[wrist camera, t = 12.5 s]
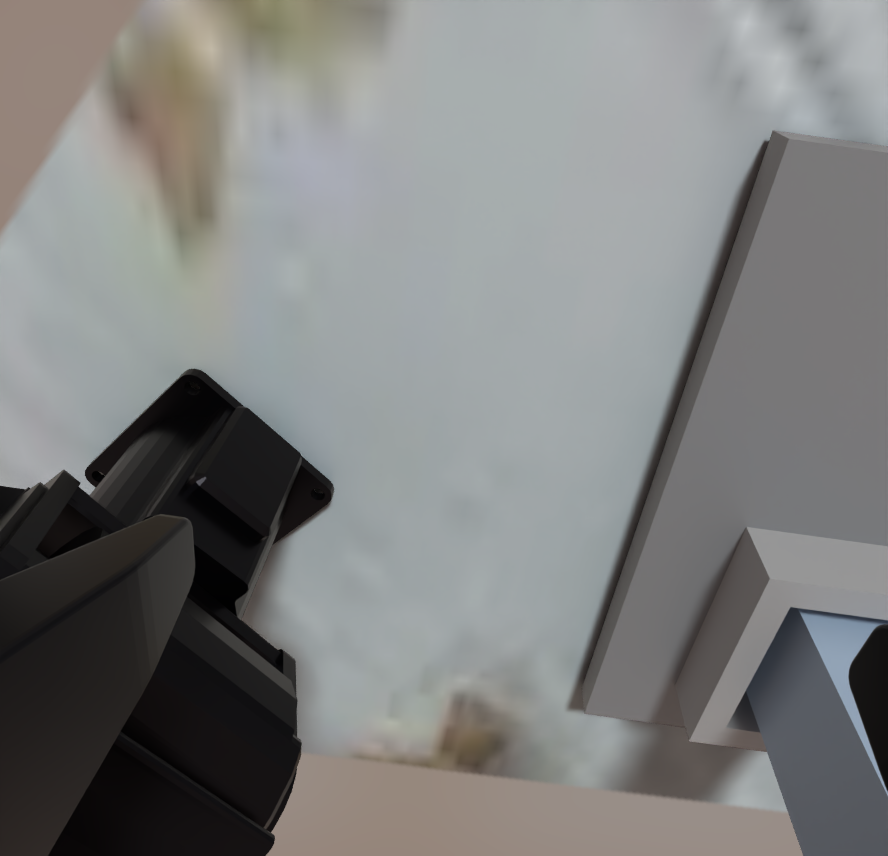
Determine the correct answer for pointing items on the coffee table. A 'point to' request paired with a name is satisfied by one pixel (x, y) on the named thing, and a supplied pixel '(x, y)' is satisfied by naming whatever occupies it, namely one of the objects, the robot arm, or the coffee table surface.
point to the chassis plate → (765, 454)
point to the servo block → (821, 734)
